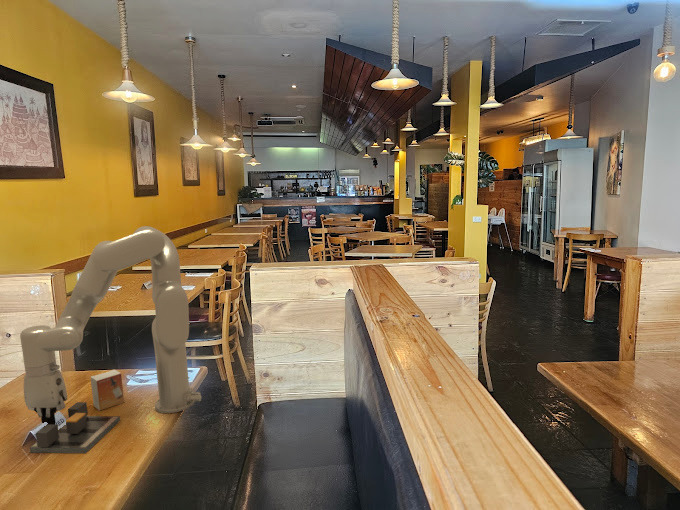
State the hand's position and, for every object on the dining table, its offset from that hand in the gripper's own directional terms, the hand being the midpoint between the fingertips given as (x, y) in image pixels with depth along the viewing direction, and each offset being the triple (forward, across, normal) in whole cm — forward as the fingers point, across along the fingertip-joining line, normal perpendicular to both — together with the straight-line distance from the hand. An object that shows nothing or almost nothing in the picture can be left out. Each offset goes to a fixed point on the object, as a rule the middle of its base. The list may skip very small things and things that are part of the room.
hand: (49, 427), depth 129 cm
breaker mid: (+1, -8, 0) cm, 9 cm away
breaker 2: (+1, -5, -6) cm, 8 cm away
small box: (+3, -6, -19) cm, 20 cm away
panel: (+3, -8, 0) cm, 9 cm away
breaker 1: (+1, -5, +6) cm, 8 cm away
